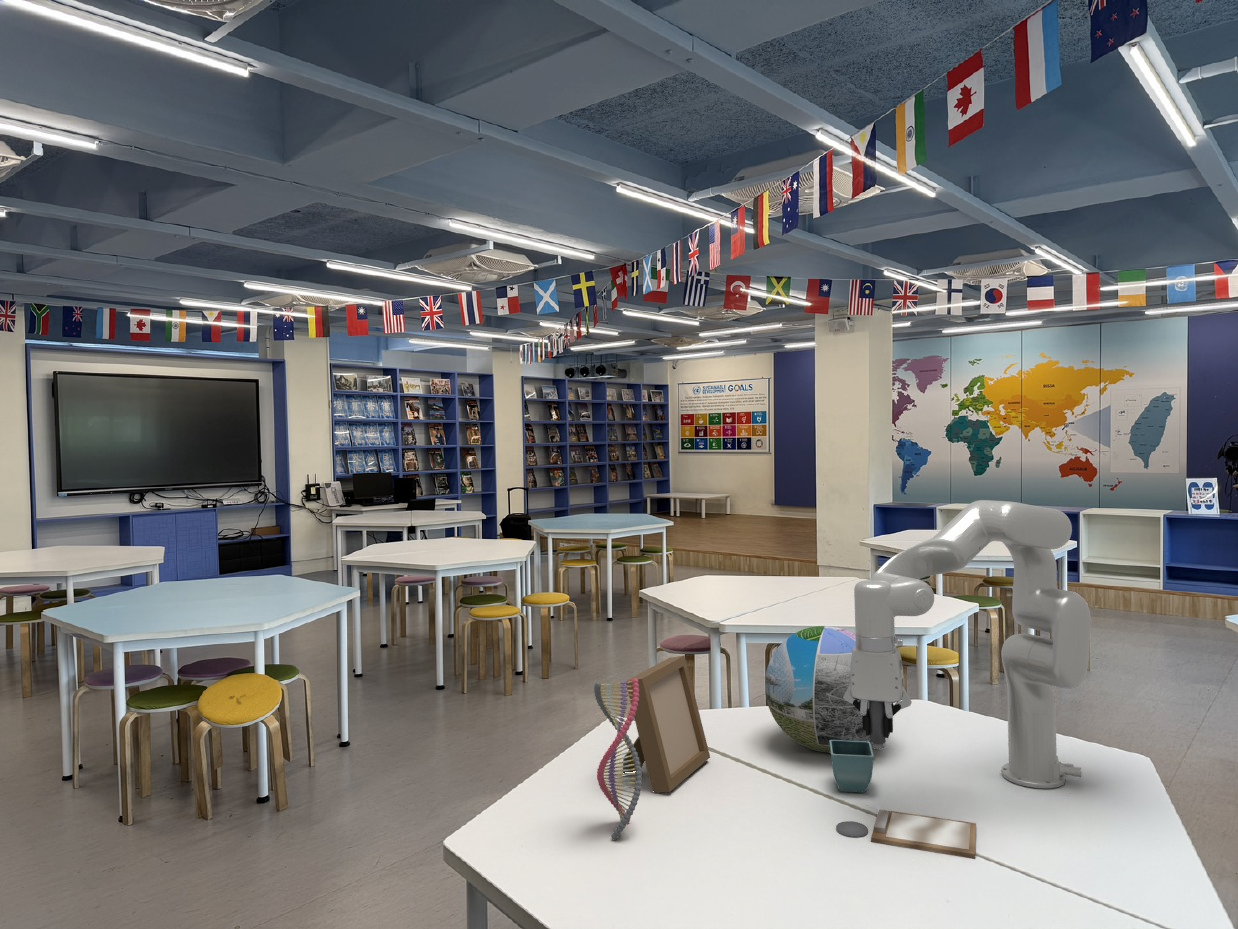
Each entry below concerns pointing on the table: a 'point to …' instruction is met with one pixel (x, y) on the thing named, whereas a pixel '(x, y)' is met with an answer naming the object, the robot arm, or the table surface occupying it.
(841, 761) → the flower pot
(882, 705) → the marker
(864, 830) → the dark grey disc
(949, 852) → the clipboard
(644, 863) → the table surface
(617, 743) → the dna model
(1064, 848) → the table surface
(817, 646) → the photo collage ball
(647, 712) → the photo frame
